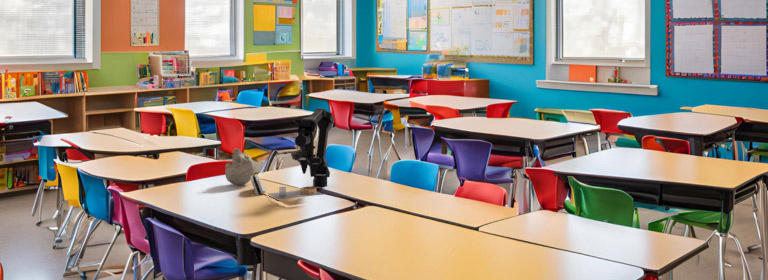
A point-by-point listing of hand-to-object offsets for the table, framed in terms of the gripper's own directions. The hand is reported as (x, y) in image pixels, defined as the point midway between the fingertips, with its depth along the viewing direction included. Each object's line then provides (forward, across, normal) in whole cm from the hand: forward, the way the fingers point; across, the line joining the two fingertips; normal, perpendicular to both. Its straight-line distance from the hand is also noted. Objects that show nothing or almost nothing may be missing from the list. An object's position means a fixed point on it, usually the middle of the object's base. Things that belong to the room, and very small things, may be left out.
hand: (307, 175), depth 355 cm
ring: (+9, 0, 0) cm, 9 cm away
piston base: (+10, 0, -7) cm, 12 cm away
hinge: (+10, -18, -19) cm, 28 cm away
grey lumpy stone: (+10, -38, -21) cm, 45 cm away
